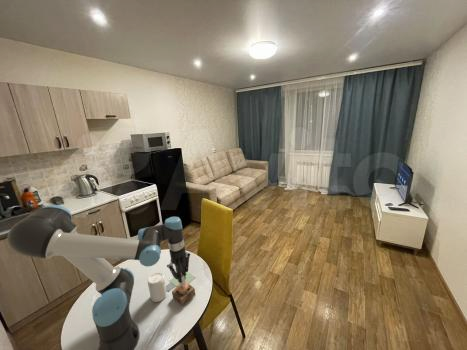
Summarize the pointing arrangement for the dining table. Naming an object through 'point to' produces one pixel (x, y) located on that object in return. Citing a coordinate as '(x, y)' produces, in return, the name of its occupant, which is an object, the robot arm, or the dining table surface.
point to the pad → (188, 279)
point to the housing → (185, 298)
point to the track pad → (169, 287)
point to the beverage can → (157, 287)
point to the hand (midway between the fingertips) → (182, 285)
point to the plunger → (182, 289)
